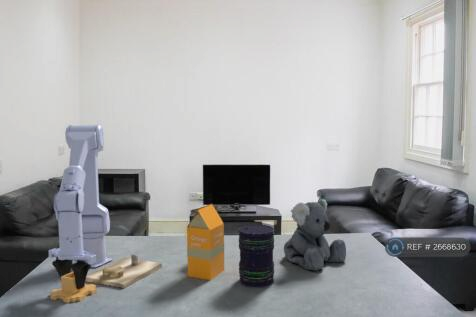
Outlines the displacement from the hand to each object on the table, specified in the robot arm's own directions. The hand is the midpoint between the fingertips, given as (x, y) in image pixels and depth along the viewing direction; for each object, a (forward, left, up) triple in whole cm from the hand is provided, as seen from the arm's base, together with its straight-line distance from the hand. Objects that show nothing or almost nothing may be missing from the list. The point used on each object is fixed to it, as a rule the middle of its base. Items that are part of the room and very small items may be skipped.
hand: (73, 286), depth 119 cm
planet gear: (0, 0, -2) cm, 2 cm away
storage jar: (+41, +27, -2) cm, 49 cm away
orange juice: (+25, +27, -2) cm, 37 cm away
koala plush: (+50, +50, -2) cm, 71 cm away
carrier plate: (+3, +17, -2) cm, 17 cm away
